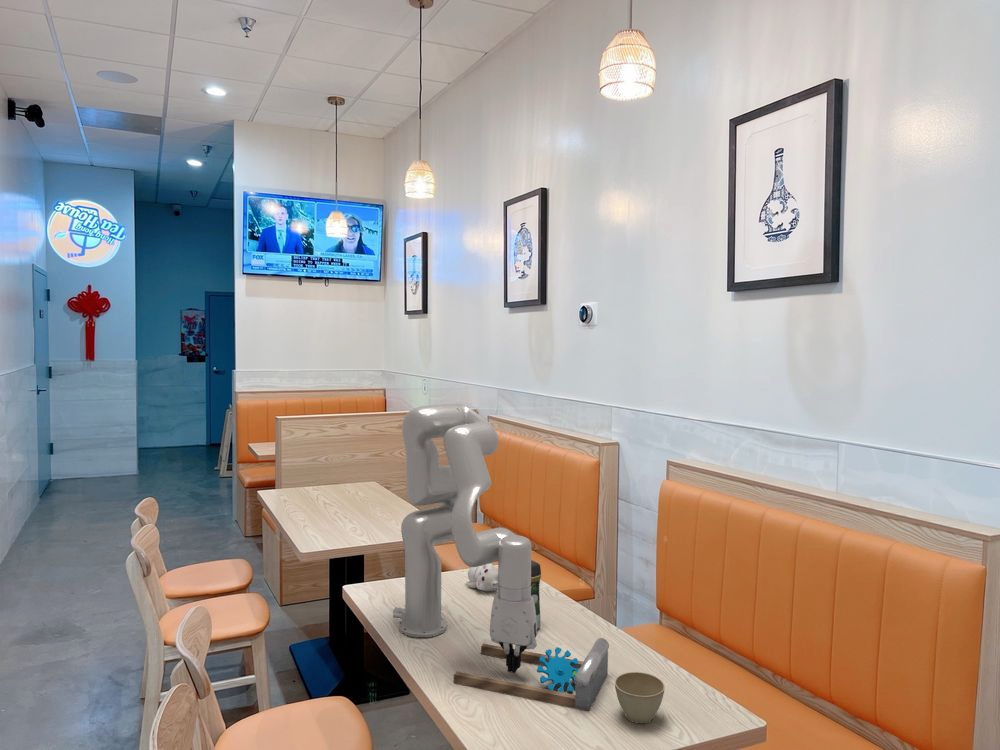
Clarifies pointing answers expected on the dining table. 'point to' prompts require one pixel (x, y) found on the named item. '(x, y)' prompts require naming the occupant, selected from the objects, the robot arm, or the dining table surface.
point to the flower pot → (639, 695)
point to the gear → (558, 670)
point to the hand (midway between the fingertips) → (513, 669)
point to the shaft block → (591, 675)
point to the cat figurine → (483, 577)
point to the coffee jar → (536, 588)
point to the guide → (516, 688)
